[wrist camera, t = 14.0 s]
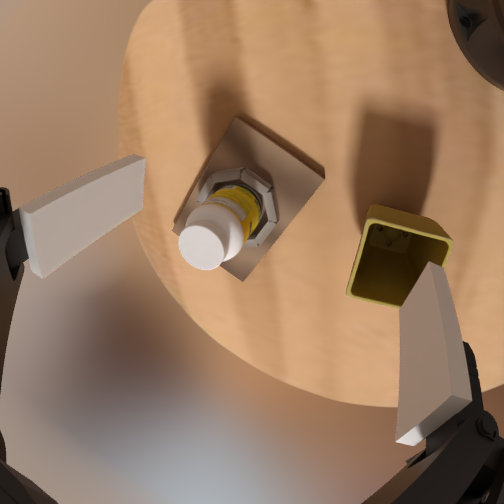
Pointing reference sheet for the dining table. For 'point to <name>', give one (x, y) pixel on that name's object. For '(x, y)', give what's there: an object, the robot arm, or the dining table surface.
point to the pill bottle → (220, 226)
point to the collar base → (255, 188)
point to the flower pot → (395, 255)
